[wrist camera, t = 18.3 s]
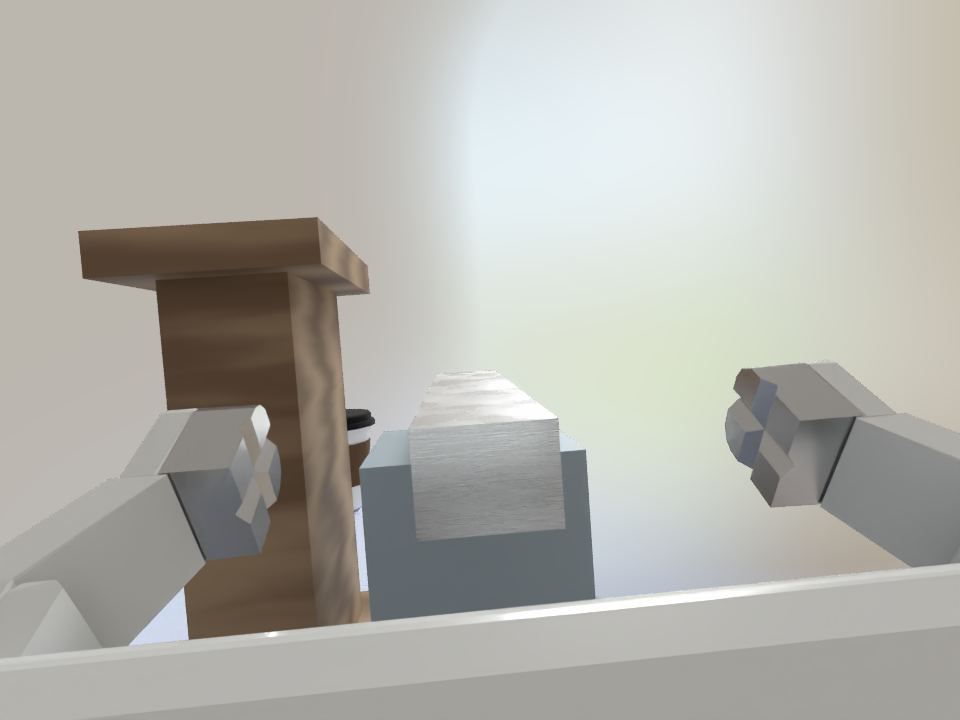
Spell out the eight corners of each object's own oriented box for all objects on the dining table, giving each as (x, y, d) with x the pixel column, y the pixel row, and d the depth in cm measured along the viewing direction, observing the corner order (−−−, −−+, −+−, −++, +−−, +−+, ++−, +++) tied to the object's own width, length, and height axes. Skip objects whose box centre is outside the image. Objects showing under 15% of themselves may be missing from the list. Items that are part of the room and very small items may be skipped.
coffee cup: (303, 500, 77) (296, 412, 76) (384, 492, 78) (377, 406, 77) (283, 526, 66) (274, 424, 66) (377, 517, 67) (369, 416, 67)
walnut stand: (361, 815, 25) (312, 212, 24) (123, 843, 24) (62, 226, 23) (396, 614, 43) (369, 267, 42) (261, 628, 42) (230, 276, 41)
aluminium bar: (565, 528, 15) (558, 417, 15) (416, 541, 15) (408, 430, 15) (497, 413, 39) (494, 369, 39) (440, 417, 39) (436, 374, 39)
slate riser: (606, 776, 26) (585, 449, 25) (385, 802, 25) (358, 468, 25) (561, 654, 36) (545, 418, 35) (402, 671, 35) (383, 431, 34)
